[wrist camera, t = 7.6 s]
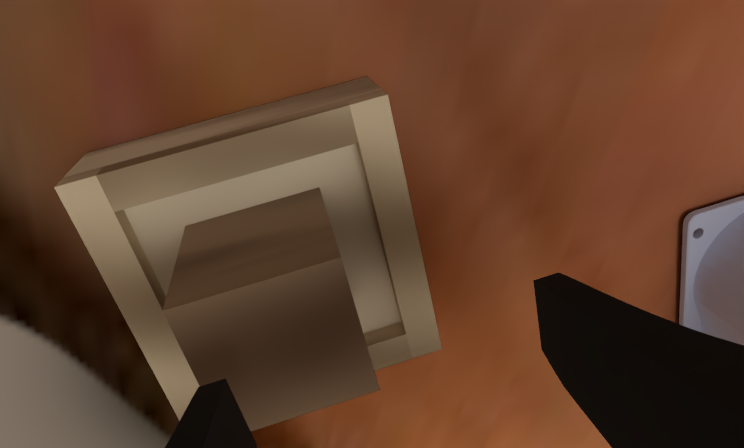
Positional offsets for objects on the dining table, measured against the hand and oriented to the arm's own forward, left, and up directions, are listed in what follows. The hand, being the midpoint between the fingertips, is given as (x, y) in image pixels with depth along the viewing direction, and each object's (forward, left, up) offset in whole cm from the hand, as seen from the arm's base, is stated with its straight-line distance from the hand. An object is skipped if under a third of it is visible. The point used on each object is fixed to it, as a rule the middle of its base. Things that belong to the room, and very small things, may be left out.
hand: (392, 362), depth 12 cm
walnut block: (0, +3, -7) cm, 8 cm away
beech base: (-1, +3, -10) cm, 10 cm away
